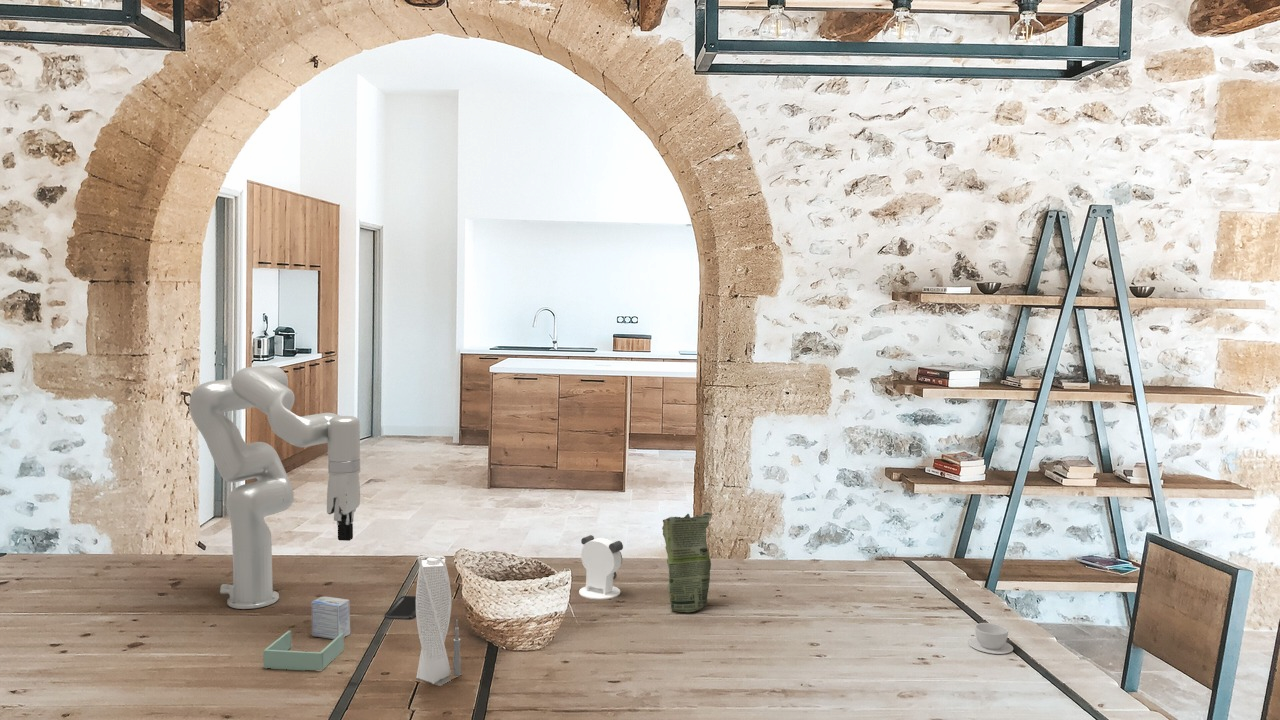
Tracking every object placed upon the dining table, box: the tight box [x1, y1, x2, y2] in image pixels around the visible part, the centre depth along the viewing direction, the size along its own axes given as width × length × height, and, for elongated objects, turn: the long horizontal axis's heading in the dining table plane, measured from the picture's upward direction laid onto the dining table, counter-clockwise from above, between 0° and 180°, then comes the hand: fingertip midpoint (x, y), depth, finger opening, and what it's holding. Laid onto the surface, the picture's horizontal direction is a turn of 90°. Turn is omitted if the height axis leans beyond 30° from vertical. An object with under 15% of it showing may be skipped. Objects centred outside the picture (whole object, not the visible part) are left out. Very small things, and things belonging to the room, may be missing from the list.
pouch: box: [661, 511, 712, 613], centre depth 246 cm, size 11×12×25 cm
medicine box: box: [311, 596, 351, 640], centre depth 223 cm, size 8×4×9 cm, turn 71°
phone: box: [384, 595, 416, 621], centre depth 242 cm, size 8×1×15 cm
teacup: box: [968, 622, 1014, 655], centre depth 222 cm, size 10×10×5 cm
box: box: [262, 630, 345, 671], centre depth 209 cm, size 13×12×4 cm
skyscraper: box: [415, 554, 462, 687], centre depth 200 cm, size 8×8×28 cm
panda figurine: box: [578, 534, 624, 600], centre depth 256 cm, size 12×11×15 cm
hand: (345, 539), depth 231 cm, fingers closed
